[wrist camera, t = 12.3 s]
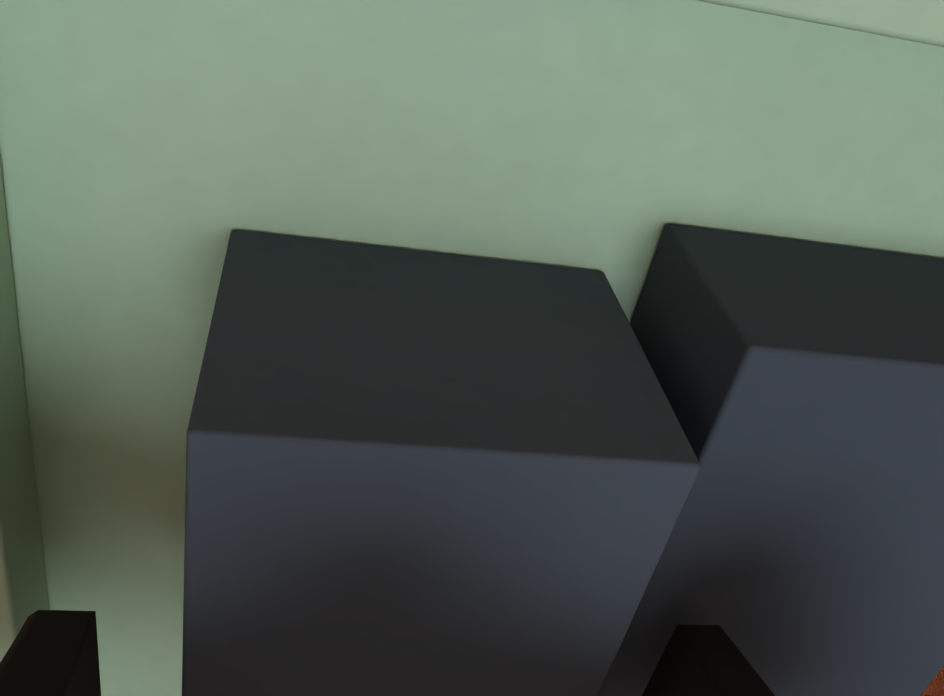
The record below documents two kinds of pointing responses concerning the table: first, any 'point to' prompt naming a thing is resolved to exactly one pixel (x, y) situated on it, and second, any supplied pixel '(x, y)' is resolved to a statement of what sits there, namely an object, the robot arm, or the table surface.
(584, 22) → the tray
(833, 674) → the pad
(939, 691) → the table surface
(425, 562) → the loose pad
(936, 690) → the table surface
